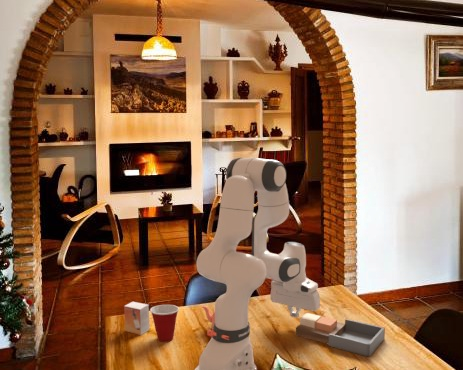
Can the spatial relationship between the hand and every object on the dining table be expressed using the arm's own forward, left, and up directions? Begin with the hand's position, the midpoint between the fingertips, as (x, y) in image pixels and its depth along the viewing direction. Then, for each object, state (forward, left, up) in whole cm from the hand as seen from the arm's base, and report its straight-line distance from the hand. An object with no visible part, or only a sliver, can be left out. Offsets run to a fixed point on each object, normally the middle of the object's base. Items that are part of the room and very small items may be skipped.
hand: (294, 316), depth 194 cm
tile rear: (0, -7, -1) cm, 7 cm away
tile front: (0, -13, -1) cm, 14 cm away
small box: (-36, +50, -4) cm, 62 cm away
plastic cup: (-35, +36, -4) cm, 50 cm away
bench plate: (0, -11, -4) cm, 12 cm away
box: (0, -25, -4) cm, 26 cm away
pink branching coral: (-17, +22, -4) cm, 28 cm away
